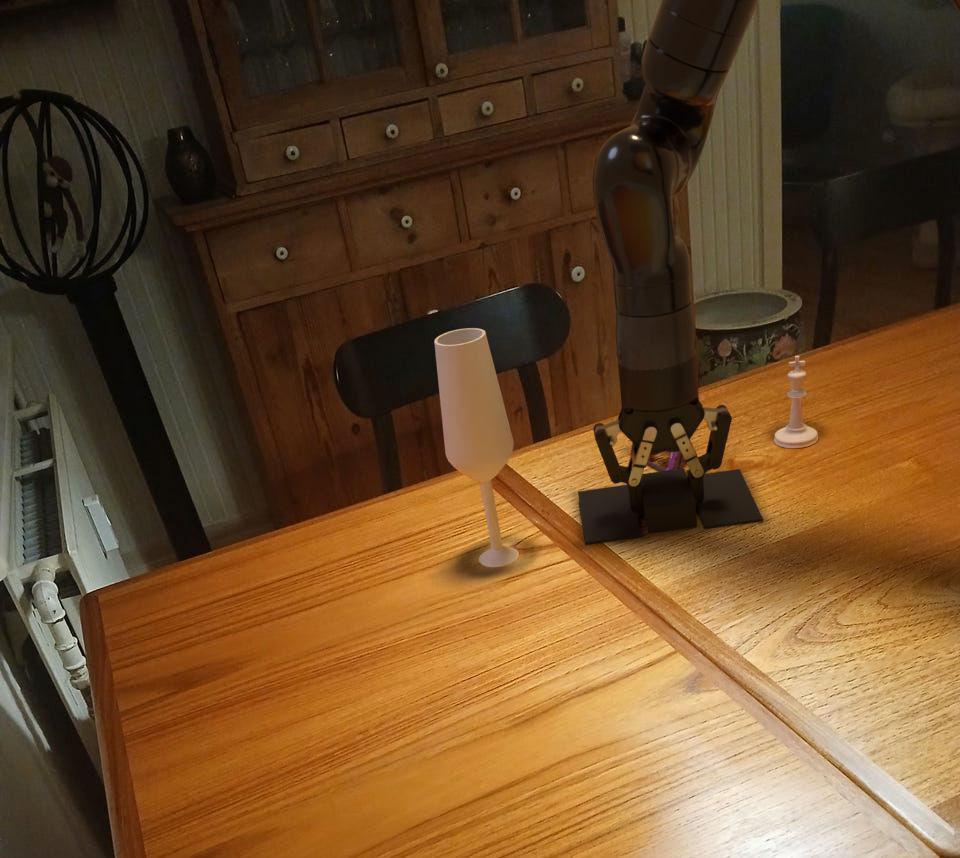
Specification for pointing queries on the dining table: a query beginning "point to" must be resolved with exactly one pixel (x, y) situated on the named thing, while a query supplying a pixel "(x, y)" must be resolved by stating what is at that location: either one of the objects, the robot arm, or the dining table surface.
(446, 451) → the champagne flute
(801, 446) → the chess piece
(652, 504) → the small pad
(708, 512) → the notched mat
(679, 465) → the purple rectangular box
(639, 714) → the dining table surface
